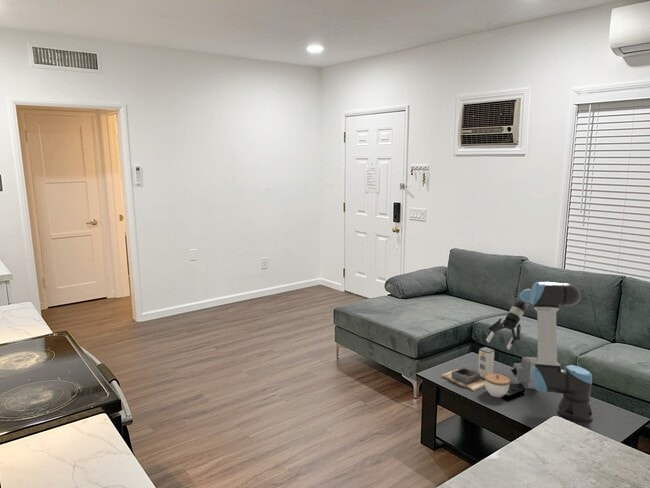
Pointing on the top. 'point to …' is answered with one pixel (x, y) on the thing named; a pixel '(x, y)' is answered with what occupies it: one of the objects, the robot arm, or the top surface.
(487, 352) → the power strip
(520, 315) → the robot arm
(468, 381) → the socket collar
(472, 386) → the mount board
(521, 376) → the circuit breaker
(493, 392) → the lidded bowl
